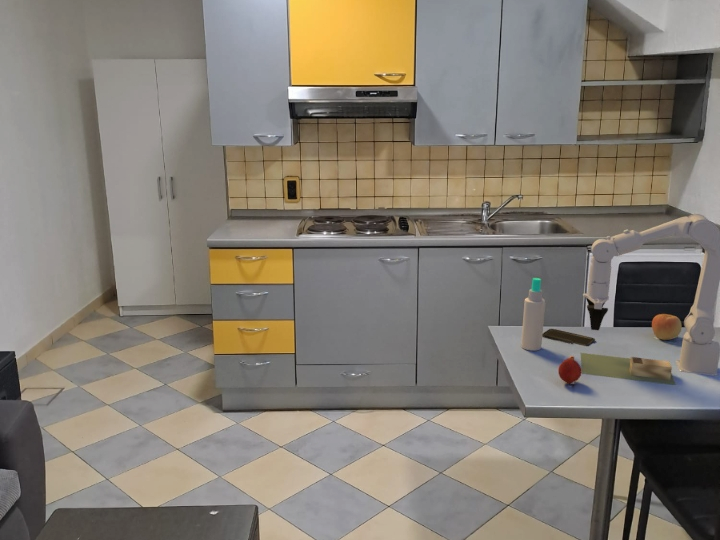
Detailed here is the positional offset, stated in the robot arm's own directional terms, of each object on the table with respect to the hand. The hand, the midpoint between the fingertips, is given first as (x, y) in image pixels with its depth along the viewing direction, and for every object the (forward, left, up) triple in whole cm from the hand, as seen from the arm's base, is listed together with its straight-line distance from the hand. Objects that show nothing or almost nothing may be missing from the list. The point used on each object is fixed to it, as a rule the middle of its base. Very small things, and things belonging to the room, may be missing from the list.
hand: (594, 325), depth 189 cm
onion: (+6, +22, -10) cm, 25 cm away
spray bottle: (+17, -2, -10) cm, 20 cm away
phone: (+6, -14, -11) cm, 19 cm away
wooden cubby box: (-15, +9, -10) cm, 20 cm away
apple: (-23, -25, -10) cm, 36 cm away
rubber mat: (-9, +6, -10) cm, 15 cm away
